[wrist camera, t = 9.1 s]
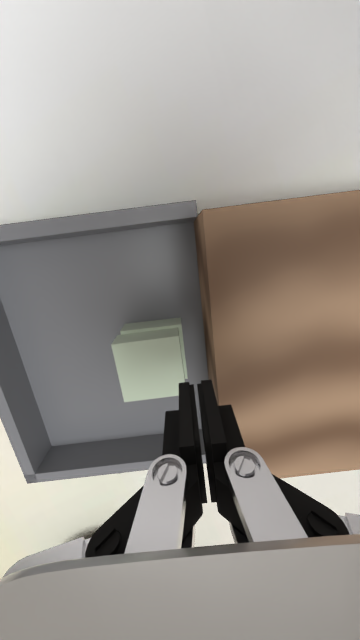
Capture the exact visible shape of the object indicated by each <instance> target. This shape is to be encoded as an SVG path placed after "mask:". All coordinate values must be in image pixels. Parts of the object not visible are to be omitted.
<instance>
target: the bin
mask: <svg viewBox="0 0 360 640" xmlns="http://www.w3.org/2000/svg"><path fill="white" fill-rule="evenodd" d="M196 218H197V206H196V200H193V201H185V202H177V203H169V204H162V205H154V206H146V207H138V208H130V209H122V210H114V211H106V212H99V213H91V214H83V215H75V216H67V217H59V218H51V219H43V220H36V221H28V222H20V223H12V224H4V225H0V418H1V420H2V423H3V425H4V428H5V430H6V433H7V435H8V437H9V440H10V442H11V445H12V447H13V450H14V452H15V455H16V457H17V459H18V462H19V464H20V467H21V469H22V472H23V474H24V477H25V479H26V481H27V483H36V482H45V481H53V480H62V479H71V478H80V477H88V476H97V475H106V474H115V473H124V472H132V471H141V470H149V467H150V465H151V464H152V463H153V462H154V460H156V459H157V458H158V457H160V456H162V451H163V437H164V423H165V412H166V411H173V410H179V396H171V397H163V398H155V399H147V400H139V401H131V402H124V399H123V395H122V390H121V386H120V381H119V377H118V373H117V368H116V364H115V360H114V355H113V351H112V347H111V344H112V342H113V341H114V339H115V338H116V336H117V335H121V333H120V331H121V329H122V328H123V326H124V325H125V324H127V323H136V322H145V321H154V320H162V319H171V318H180V317H181V324H182V332H183V341H184V350H185V358H186V367H187V376H188V379H185V381H186V382H189V384H190V385H191V384H194V392H195V400H196V409H197V417H198V426H199V435H200V444H201V452H202V461H203V463H206V456H205V448H204V440H203V433H202V424H201V415H200V406H199V397H198V388H197V384H200V383H201V380H209V378H208V368H207V357H206V346H205V336H204V325H203V315H202V304H201V294H200V283H199V273H198V262H197V252H196V241H195V231H194V221H195V219H196Z"/></svg>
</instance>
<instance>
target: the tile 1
mask: <svg viewBox="0 0 360 640" xmlns="http://www.w3.org/2000/svg"><path fill="white" fill-rule="evenodd" d="M111 347H112V351H113V355H114V360H115V364H116V368H117V373H118V377H119V381H120V386H121V390H122V395H123V399H124V402H131V401H139V400H147V399H155V398H163V397H171V396H179V383H183V382H186V381H185V374H184V367H183V359H182V352H181V345H180V337H179V330H178V327H176V328H169V329H161V330H153V331H145V332H137V333H130V334H122V335H117V336H116V338H115V339H114V341H113V342H112V344H111Z"/></svg>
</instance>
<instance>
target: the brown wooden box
mask: <svg viewBox="0 0 360 640" xmlns="http://www.w3.org/2000/svg"><path fill="white" fill-rule="evenodd" d="M194 231H195V241H196V252H197V262H198V273H199V283H200V294H201V304H202V315H203V325H204V336H205V346H206V357H207V368H208V378H209V380H210V379H211V380H212V384H213V388H214V392H215V396H216V400H217V404H218V406H220V405H230V404H231V406H232V408H233V411H234V415H235V418H236V421H237V424H238V427H239V430H240V433H241V436H242V439H243V442H244V445H245V448H250V449H252V450H254V451H256V452H257V453H258V454H260V456H261V457H262V458H263V460H264V462H265V463H266V465H267V467H268V469H269V470H270V472H271V474H273V475H275V476H276V477H278V478H287V477H296V476H305V475H314V474H322V473H331V472H340V471H349V470H358V469H360V190H355V191H347V192H339V193H331V194H323V195H315V196H307V197H299V198H291V199H283V200H276V201H268V202H260V203H252V204H244V205H236V206H228V207H220V208H212V209H204V210H202V211H201V213H200V214H199V215H198V217H197V218H196V219H195V221H194Z"/></svg>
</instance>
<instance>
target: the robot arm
mask: <svg viewBox="0 0 360 640" xmlns="http://www.w3.org/2000/svg"><path fill="white" fill-rule="evenodd" d="M197 388H198V397H199V406H200V415H201V424H202V433H203V440H204V448H205V456H206V464H207V471H208V479H209V487H210V495H211V502H217V507H218V512H219V513H220V514H221V515H222V516H223V517H224V518H226V519H227V520H228V521H229V525H230V529H231V533H232V536H233V539H234V542H235V544H226V545H215V546H204V547H194V542H195V524H196V522H197V521H198V520H199V518H200V517H201V516H202V513H203V509H202V503H207V497H206V488H205V479H204V470H203V461H202V452H201V444H200V435H199V426H198V417H197V409H196V400H195V392H194V384H191V385H190V384H189V382H183V383H179V410H173V411H166V412H165V423H164V437H163V451H162V456H160V457H158V458H157V459H156V460H154V462H153V463H152V464H151V465H150V467H149V470H148V473H147V476H146V480H145V483H144V486H143V487H142V488H141V489H140V490H139V491H137V492H136V493H135V494H134V495H133V496H132V497H131V498H130V499H129V500H128V501H127V502H126V503H125V504H124V505H123V506H122V507H121V508H120V509H119V510H118V511H116V512H115V513H114V514H113V515H112V516H111V517H110V518H109V519H108V520H107V521H106V522H105V523H104V524H103V525H102V526H101V527H100V528H99V529H98V530H97V531H96V532H95V533H94V534H93V536H92V537H91V538H88V539H84V536H83V537H80V538H78V539H75V540H72V541H69V542H66V543H64V544H61V545H58V546H55V547H52V548H49V549H47V550H44V551H41V552H38V553H35V554H33V555H30V556H27V557H25V558H23V559H21V560H19V561H17V562H16V563H15V564H14V565H13V566H12V567H11V568H9V569H8V571H7V572H6V573H5V575H4V576H3V577H2V578H1V579H0V640H360V515H357V514H351V513H345V516H340V515H337V514H336V513H335V512H333V511H332V510H331V509H329V508H328V507H326V506H324V505H323V504H321V503H320V502H318V501H316V500H315V499H313V498H311V497H310V496H308V495H306V494H305V493H303V492H301V491H300V490H298V489H296V488H295V487H293V486H291V485H290V484H288V483H286V482H285V481H283V480H281V479H280V478H278V477H276V476H275V475H273V474H271V472H270V470H269V469H268V467H267V465H266V463H265V462H264V460H263V458H262V457H261V456H260V454H258V453H257V452H256V451H254V450H252V449H250V448H245V445H244V442H243V439H242V436H241V433H240V430H239V427H238V424H237V421H236V418H235V415H234V411H233V408H232V406H231V404H230V405H220V406H218V404H217V400H216V396H215V392H214V388H213V384H212V380H211V379H210V380H201V383H200V384H197Z"/></svg>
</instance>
